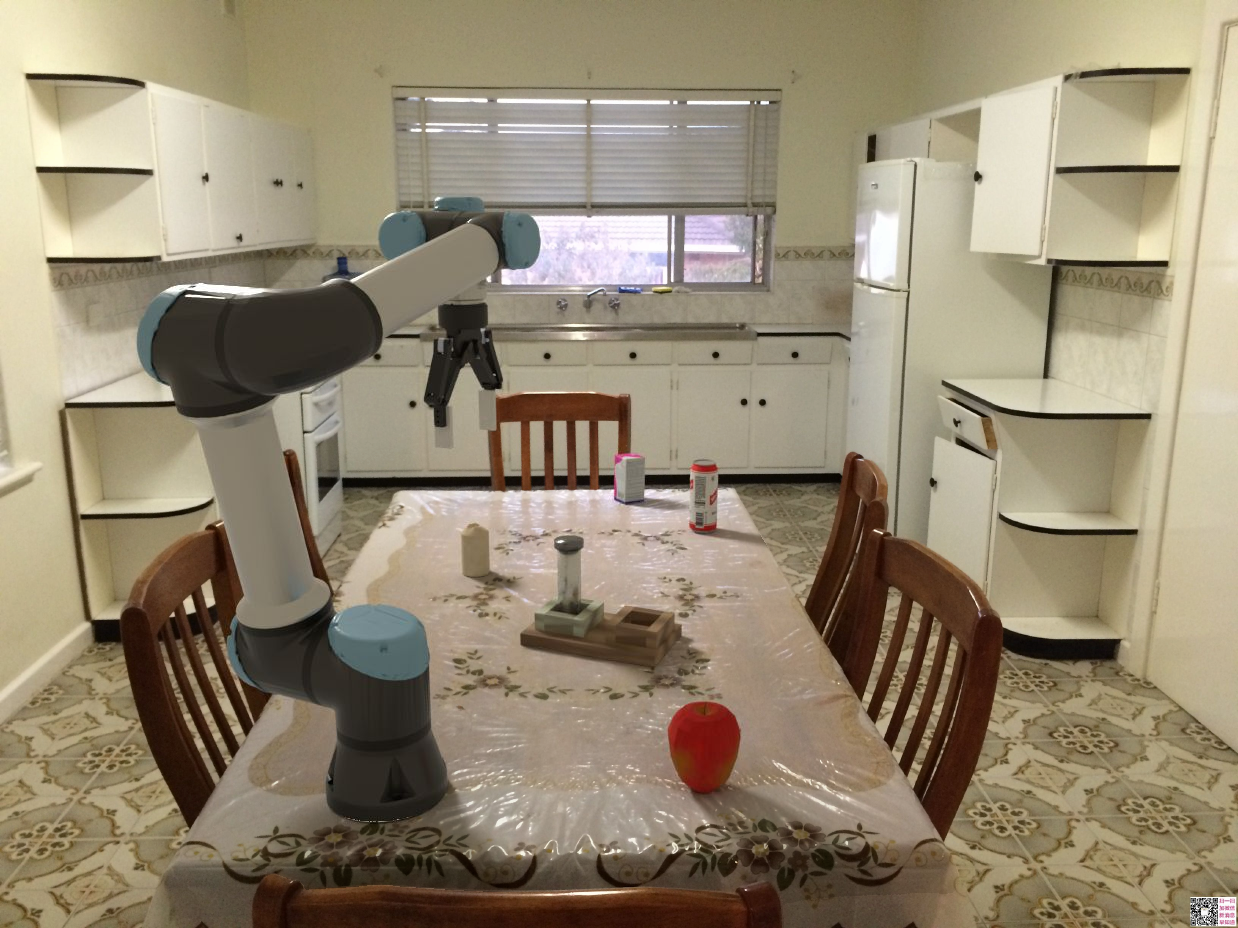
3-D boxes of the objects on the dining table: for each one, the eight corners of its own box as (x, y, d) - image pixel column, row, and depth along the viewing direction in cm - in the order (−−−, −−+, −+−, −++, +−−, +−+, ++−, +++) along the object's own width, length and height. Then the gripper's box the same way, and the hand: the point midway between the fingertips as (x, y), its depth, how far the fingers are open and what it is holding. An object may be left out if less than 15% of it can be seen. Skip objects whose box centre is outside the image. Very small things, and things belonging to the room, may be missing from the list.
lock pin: (577, 631, 180) (576, 545, 176) (550, 626, 182) (549, 542, 178) (588, 620, 184) (588, 537, 181) (562, 616, 186) (561, 533, 182)
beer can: (686, 532, 239) (687, 464, 235) (692, 524, 245) (693, 457, 241) (713, 535, 237) (715, 466, 233) (719, 527, 243) (721, 459, 239)
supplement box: (645, 501, 264) (645, 456, 261) (624, 504, 261) (625, 459, 258) (633, 495, 268) (633, 451, 266) (613, 499, 266) (613, 454, 263)
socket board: (653, 667, 171) (654, 638, 169) (520, 644, 179) (519, 616, 178) (681, 635, 183) (682, 608, 182) (555, 614, 192) (555, 588, 191)
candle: (492, 575, 212) (491, 527, 209) (465, 578, 210) (464, 530, 207) (485, 566, 217) (484, 519, 214) (459, 569, 215) (457, 522, 212)
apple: (735, 767, 141) (738, 684, 138) (742, 805, 132) (745, 717, 129) (665, 766, 141) (667, 683, 138) (667, 804, 132) (669, 716, 129)
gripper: (441, 310, 148) (446, 458, 153) (522, 295, 170) (524, 424, 176) (395, 308, 151) (402, 453, 156) (481, 293, 173) (484, 421, 178)
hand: (467, 438), depth 166 cm, fingers open, 13 cm apart
